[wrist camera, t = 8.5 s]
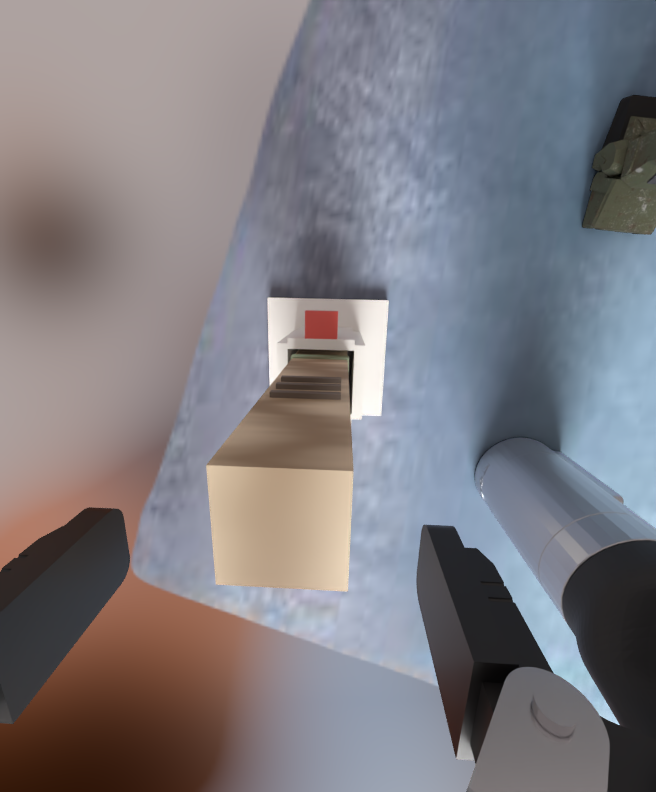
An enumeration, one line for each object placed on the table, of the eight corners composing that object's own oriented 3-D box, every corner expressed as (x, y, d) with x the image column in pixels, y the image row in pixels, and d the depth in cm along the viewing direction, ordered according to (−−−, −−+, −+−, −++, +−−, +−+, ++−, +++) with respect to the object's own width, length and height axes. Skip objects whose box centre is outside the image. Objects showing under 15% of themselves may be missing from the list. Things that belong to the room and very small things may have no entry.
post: (348, 346, 30) (357, 462, 9) (346, 396, 31) (350, 594, 11) (298, 345, 30) (201, 456, 10) (298, 394, 31) (213, 587, 11)
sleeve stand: (387, 300, 36) (405, 303, 25) (379, 411, 40) (393, 457, 29) (270, 297, 37) (239, 299, 26) (272, 407, 40) (246, 451, 29)
